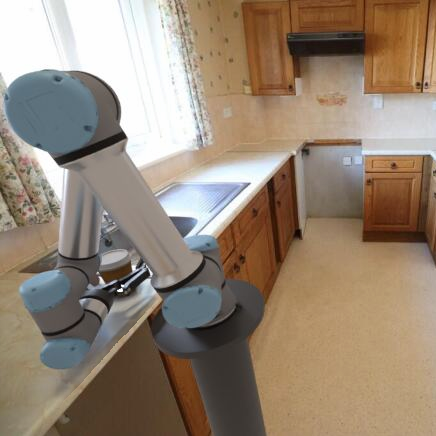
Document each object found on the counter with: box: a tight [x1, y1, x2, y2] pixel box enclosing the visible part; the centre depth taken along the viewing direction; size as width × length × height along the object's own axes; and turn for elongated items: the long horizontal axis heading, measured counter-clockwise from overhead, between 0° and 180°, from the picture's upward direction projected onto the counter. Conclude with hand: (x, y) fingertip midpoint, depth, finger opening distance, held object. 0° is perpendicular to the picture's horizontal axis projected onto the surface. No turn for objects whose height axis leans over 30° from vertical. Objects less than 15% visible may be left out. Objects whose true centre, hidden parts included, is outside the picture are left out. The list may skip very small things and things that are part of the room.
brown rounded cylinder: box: [89, 274, 101, 287], centre depth 100 cm, size 13×4×4 cm, turn 80°
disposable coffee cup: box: [97, 248, 134, 298], centre depth 95 cm, size 10×10×12 cm
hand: (119, 263), depth 97 cm, fingers open, 13 cm apart
